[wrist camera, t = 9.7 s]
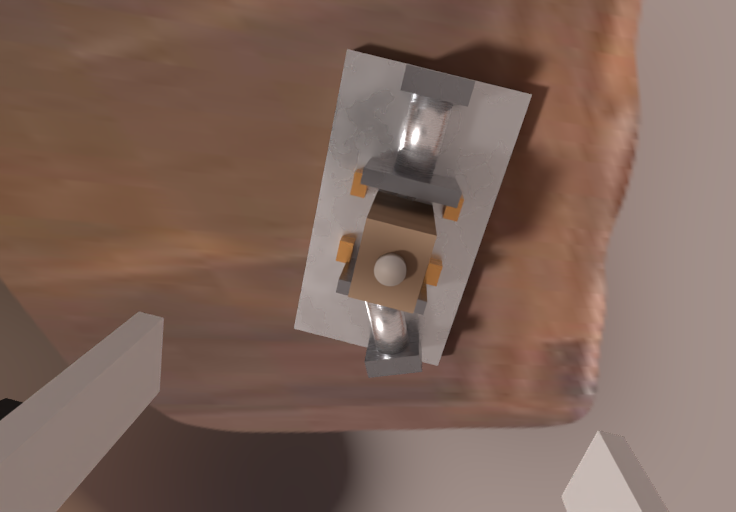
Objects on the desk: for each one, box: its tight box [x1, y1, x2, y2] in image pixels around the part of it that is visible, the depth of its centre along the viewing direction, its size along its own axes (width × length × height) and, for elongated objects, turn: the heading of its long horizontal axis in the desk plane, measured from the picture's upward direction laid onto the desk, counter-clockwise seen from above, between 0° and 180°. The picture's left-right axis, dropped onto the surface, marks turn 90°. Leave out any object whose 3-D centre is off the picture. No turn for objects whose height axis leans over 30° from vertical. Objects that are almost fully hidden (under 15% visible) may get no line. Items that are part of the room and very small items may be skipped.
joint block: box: [348, 192, 437, 314], centre depth 28 cm, size 5×4×8 cm
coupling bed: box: [294, 49, 532, 366], centre depth 30 cm, size 21×12×5 cm, turn 167°
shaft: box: [365, 301, 422, 378], centre depth 32 cm, size 6×4×3 cm
